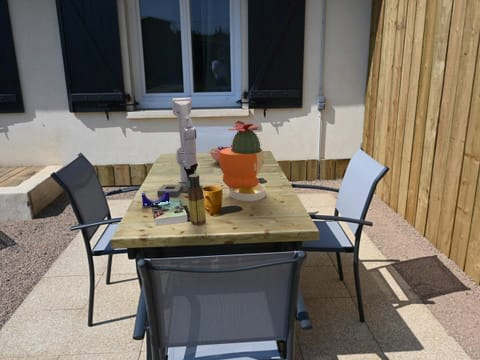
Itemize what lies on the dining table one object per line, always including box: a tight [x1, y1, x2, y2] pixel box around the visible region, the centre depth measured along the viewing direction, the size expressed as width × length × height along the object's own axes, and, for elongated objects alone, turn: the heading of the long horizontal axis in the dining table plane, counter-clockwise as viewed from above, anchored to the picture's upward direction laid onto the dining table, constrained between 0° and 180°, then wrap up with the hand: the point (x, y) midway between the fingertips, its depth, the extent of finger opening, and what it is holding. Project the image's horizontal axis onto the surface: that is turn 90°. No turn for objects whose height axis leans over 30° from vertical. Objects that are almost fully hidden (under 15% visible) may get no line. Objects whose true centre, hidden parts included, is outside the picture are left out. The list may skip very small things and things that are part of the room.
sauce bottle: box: [187, 173, 207, 226], centre depth 162 cm, size 7×6×20 cm
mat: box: [181, 185, 204, 194], centre depth 207 cm, size 9×9×1 cm
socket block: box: [156, 184, 184, 197], centre depth 203 cm, size 11×10×2 cm
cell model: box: [208, 144, 232, 164], centre depth 258 cm, size 17×20×11 cm
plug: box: [186, 169, 197, 187], centre depth 206 cm, size 4×4×8 cm
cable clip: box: [141, 190, 171, 208], centre depth 187 cm, size 12×4×6 cm, turn 107°
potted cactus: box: [219, 120, 266, 202], centre depth 193 cm, size 22×22×35 cm
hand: (191, 179), depth 206 cm, fingers closed on plug, 4 cm apart
